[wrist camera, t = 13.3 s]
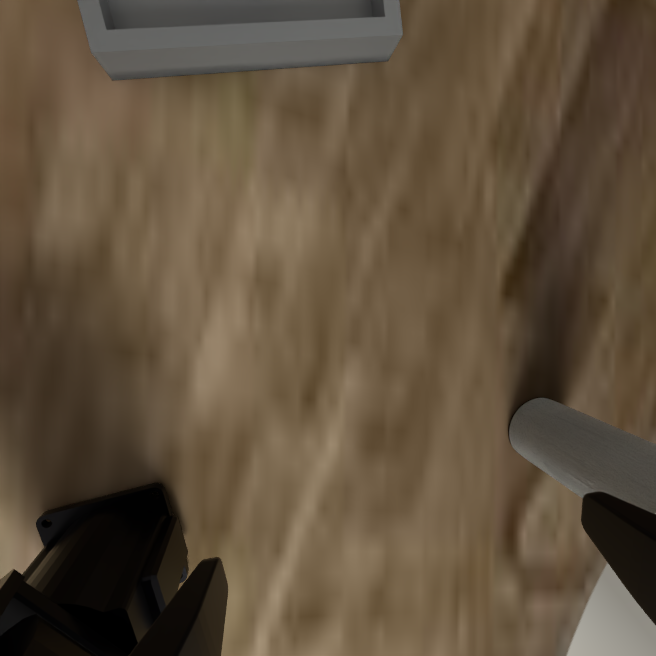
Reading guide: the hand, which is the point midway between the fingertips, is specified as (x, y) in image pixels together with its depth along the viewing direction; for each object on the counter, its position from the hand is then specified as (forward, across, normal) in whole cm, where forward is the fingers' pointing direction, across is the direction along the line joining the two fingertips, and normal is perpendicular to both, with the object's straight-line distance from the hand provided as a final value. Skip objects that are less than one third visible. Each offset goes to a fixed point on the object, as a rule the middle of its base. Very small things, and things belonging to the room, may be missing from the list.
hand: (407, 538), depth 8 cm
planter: (+14, -13, +8) cm, 21 cm away
